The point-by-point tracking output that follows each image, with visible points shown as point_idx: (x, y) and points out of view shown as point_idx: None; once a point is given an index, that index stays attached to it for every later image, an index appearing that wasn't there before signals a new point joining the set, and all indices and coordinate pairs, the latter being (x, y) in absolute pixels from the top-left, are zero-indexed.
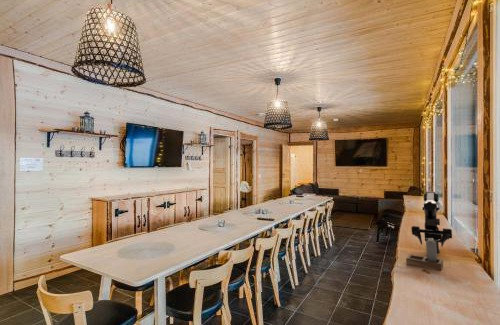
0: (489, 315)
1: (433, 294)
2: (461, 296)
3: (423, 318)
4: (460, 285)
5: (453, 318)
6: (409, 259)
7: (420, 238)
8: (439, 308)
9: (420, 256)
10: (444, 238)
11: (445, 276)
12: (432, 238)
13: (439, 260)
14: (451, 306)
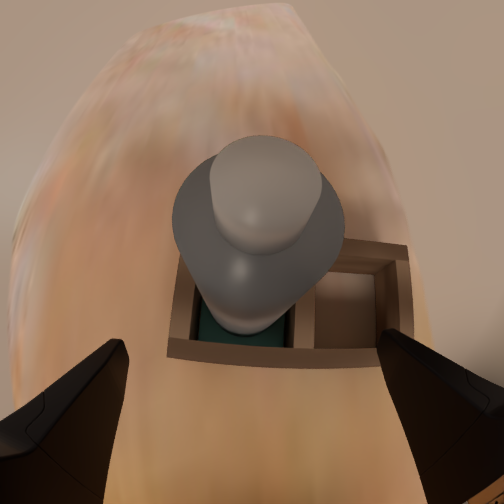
0: (136, 37)
1: (231, 49)
2: (162, 64)
3: (245, 7)
4: (140, 119)
5: (200, 15)
6: (387, 244)
7: (444, 369)
8: (220, 23)
9: (340, 354)
10: (19, 410)
11: (178, 178)
12: (231, 195)
13: (190, 313)
14: (196, 31)
